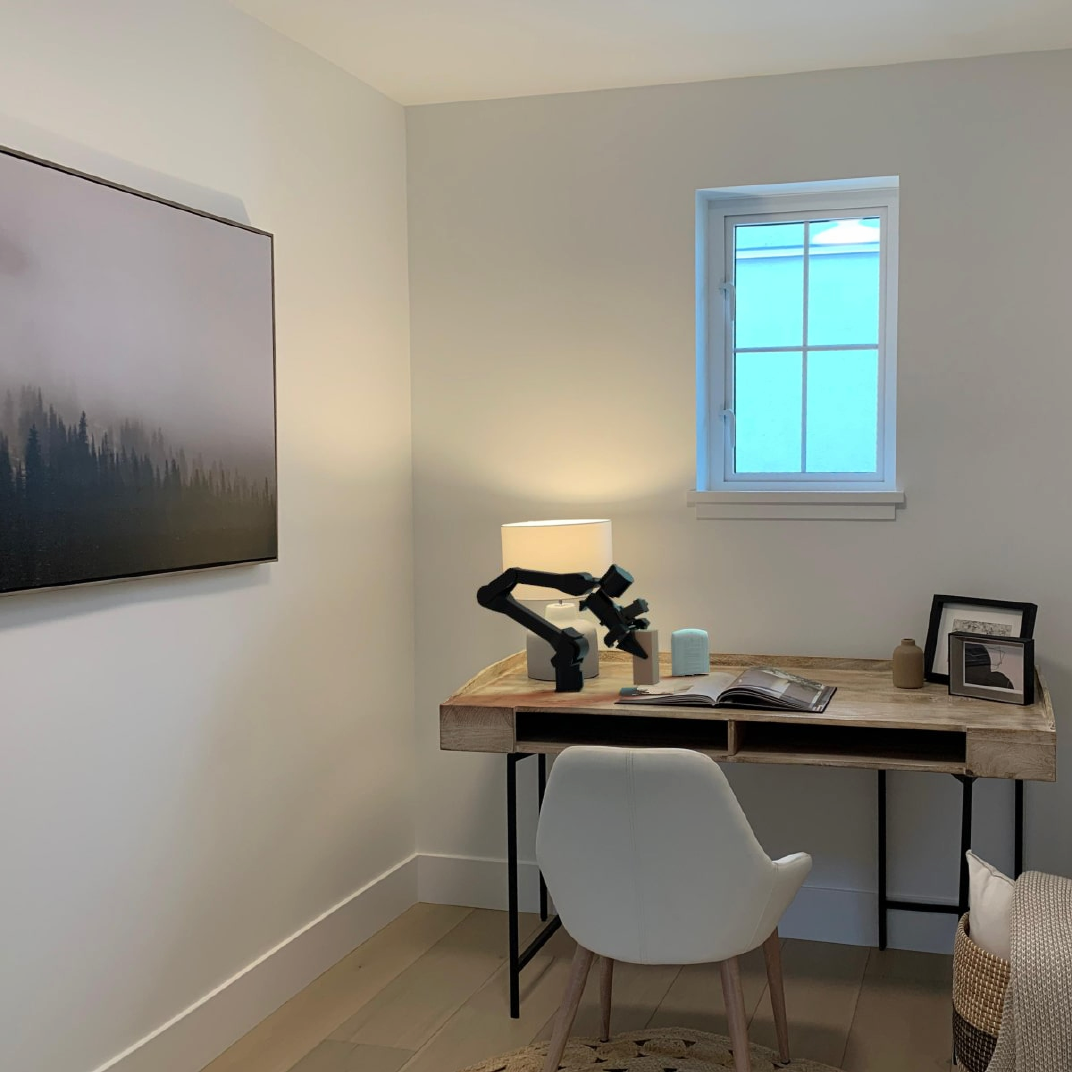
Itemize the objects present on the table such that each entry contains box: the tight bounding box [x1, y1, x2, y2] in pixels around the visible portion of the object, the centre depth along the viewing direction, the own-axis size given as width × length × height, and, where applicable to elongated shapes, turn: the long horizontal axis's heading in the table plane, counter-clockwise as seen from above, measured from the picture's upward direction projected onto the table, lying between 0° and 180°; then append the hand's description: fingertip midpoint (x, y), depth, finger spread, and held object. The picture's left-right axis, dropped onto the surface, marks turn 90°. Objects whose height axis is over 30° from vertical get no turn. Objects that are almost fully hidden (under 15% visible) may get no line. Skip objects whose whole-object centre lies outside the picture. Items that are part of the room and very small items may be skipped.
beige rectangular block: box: [632, 629, 661, 686], centre depth 291 cm, size 5×5×13 cm
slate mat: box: [618, 686, 649, 697], centre depth 291 cm, size 13×9×1 cm
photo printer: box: [670, 628, 710, 677], centre depth 317 cm, size 10×4×12 cm, turn 98°
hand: (651, 656), depth 291 cm, fingers closed on beige rectangular block, 5 cm apart
